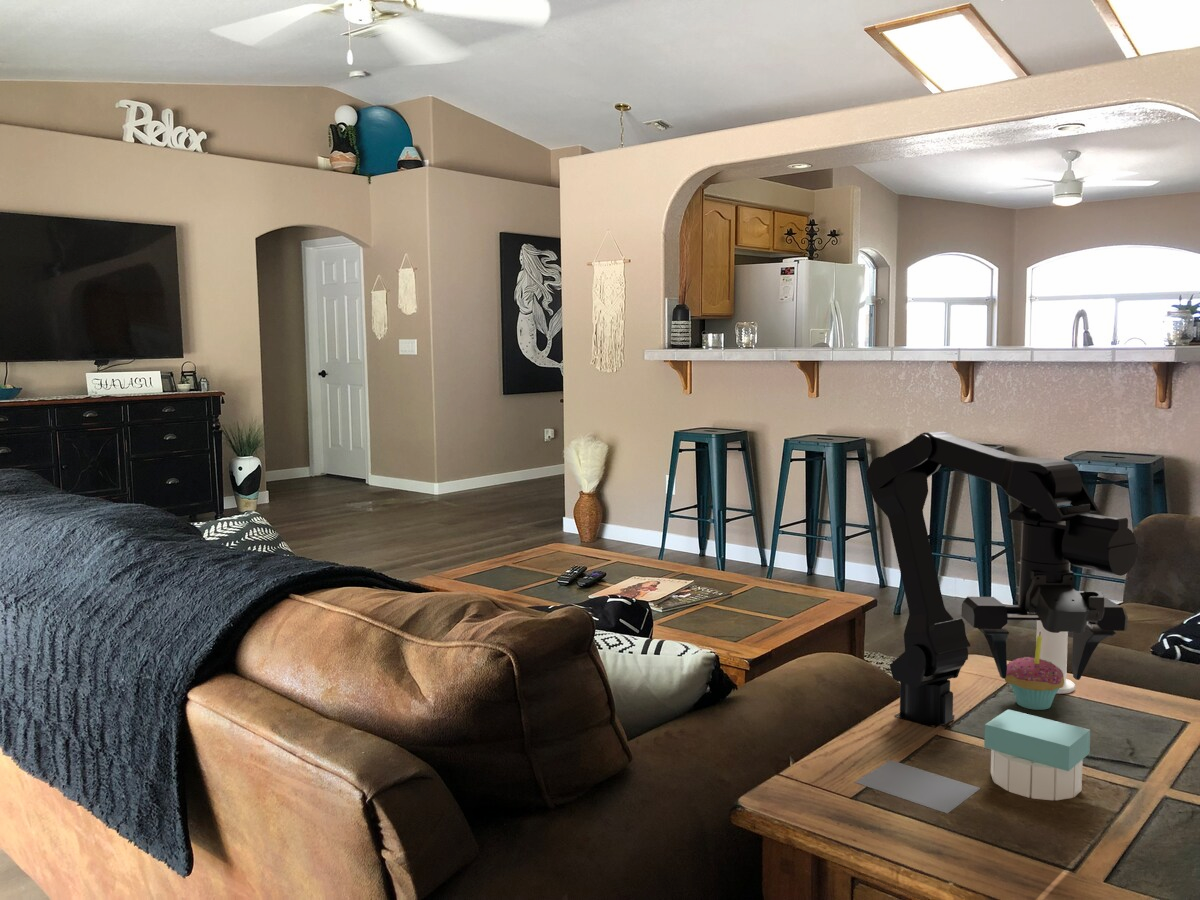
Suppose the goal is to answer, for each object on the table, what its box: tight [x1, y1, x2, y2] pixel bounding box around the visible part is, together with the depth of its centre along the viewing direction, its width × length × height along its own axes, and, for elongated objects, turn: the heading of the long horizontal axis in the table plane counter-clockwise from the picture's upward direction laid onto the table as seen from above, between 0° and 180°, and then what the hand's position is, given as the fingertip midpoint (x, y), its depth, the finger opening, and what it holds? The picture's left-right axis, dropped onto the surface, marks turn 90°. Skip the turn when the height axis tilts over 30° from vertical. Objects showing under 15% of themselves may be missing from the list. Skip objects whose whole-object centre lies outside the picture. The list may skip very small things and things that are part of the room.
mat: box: [854, 759, 982, 815], centre depth 118 cm, size 12×9×1 cm
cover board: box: [983, 709, 1091, 771], centre depth 118 cm, size 10×7×3 cm
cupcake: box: [1004, 631, 1064, 711], centre depth 145 cm, size 9×8×12 cm
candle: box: [1035, 620, 1076, 694], centre depth 152 cm, size 7×7×25 cm
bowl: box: [990, 749, 1084, 801], centre depth 118 cm, size 10×10×4 cm
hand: (1039, 678), depth 123 cm, fingers open, 9 cm apart
